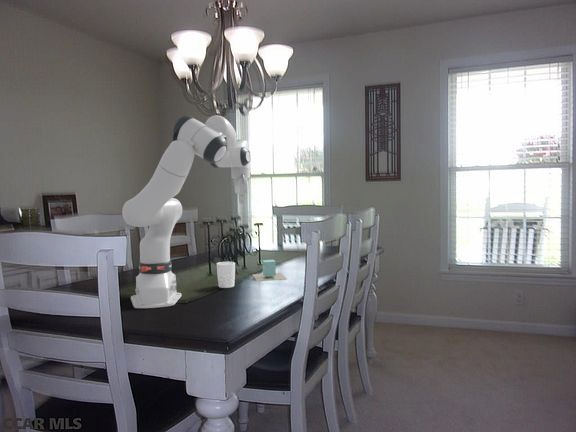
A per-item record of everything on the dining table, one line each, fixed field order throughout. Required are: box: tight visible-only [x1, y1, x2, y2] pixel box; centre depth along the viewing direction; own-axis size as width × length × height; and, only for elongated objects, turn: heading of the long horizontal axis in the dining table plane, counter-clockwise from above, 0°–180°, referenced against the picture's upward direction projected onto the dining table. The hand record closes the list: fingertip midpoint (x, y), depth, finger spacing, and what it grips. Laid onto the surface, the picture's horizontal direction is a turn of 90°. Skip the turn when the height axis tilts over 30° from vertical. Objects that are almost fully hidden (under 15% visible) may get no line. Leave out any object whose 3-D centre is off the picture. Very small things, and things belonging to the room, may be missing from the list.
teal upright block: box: [262, 259, 277, 276], centre depth 214 cm, size 5×5×7 cm
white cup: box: [216, 261, 236, 289], centre depth 196 cm, size 8×8×10 cm
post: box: [251, 272, 288, 282], centre depth 214 cm, size 14×14×7 cm
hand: (241, 203), depth 220 cm, fingers closed
